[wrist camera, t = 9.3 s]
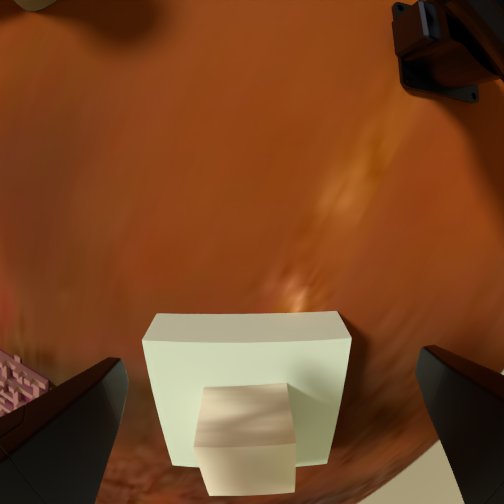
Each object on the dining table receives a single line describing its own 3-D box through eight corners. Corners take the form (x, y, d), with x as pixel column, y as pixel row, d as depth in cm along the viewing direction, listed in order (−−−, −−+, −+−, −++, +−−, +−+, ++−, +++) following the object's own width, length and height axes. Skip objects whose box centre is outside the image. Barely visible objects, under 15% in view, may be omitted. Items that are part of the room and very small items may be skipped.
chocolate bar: (51, 371, 23) (41, 384, 21) (51, 468, 28) (45, 478, 26) (-7, 334, 22) (-18, 344, 20) (6, 440, 27) (-1, 449, 25)
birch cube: (286, 382, 18) (296, 443, 14) (287, 435, 20) (294, 492, 15) (203, 387, 18) (193, 447, 14) (214, 439, 20) (209, 495, 15)
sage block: (335, 308, 21) (351, 337, 18) (318, 429, 25) (326, 463, 21) (158, 310, 21) (141, 340, 18) (180, 431, 25) (172, 465, 21)
